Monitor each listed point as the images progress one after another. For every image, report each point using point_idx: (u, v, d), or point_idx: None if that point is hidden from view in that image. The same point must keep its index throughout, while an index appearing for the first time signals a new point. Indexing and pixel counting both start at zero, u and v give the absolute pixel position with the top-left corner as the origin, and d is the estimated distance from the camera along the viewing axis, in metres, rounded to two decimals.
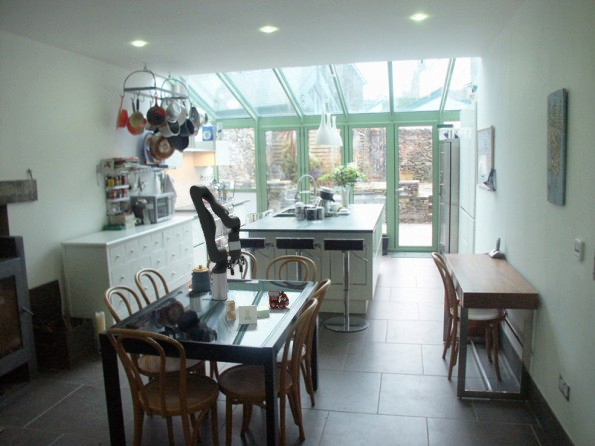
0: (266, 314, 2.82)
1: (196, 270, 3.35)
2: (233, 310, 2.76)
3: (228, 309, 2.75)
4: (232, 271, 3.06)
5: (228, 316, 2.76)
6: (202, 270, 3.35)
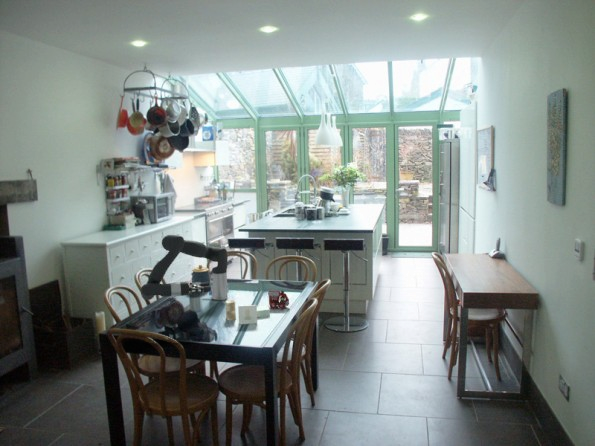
0: (266, 314, 2.82)
1: (196, 270, 3.35)
2: (233, 310, 2.76)
3: (228, 309, 2.75)
4: None
5: (228, 316, 2.76)
6: (202, 270, 3.35)
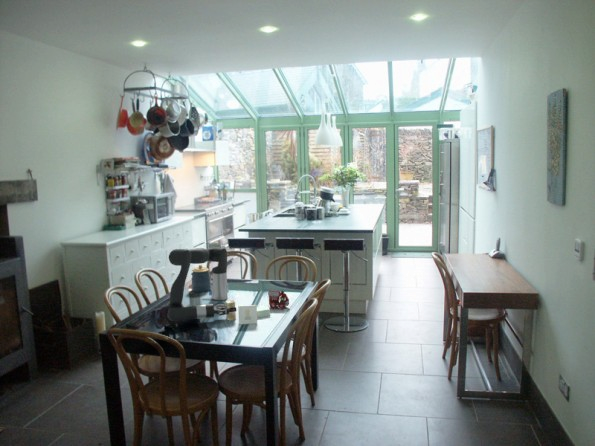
0: (267, 314, 2.83)
1: (196, 270, 3.35)
2: None
3: None
4: None
5: (228, 316, 2.76)
6: (202, 270, 3.35)
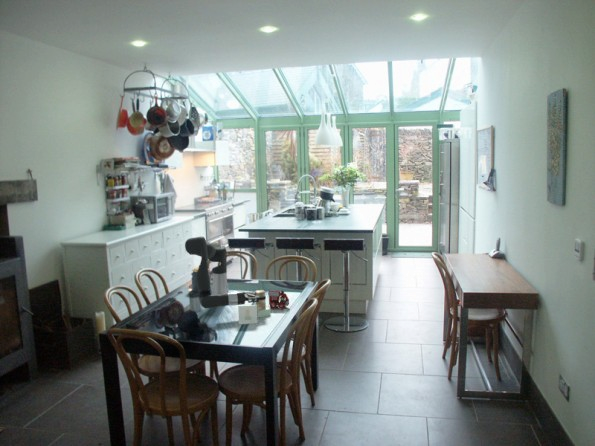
0: (267, 314, 2.83)
1: (196, 270, 3.35)
2: None
3: None
4: None
5: (258, 305, 2.82)
6: None
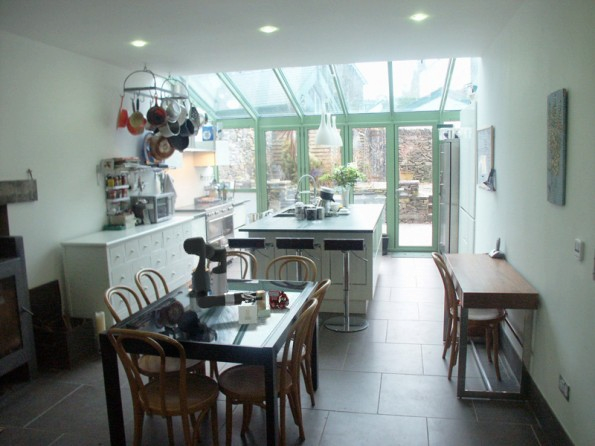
0: (267, 313, 2.83)
1: None
2: (263, 300, 2.82)
3: None
4: None
5: (259, 305, 2.82)
6: None
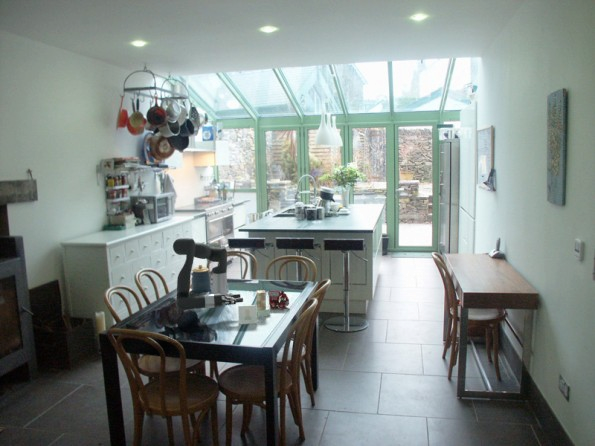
0: (267, 314, 2.83)
1: (196, 270, 3.35)
2: (263, 300, 2.82)
3: (259, 299, 2.81)
4: None
5: (258, 305, 2.82)
6: (202, 270, 3.35)
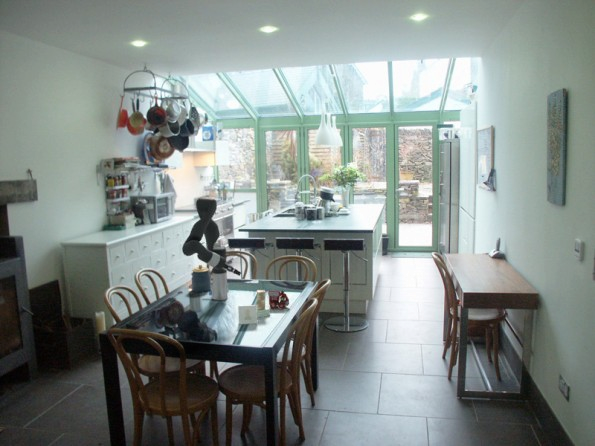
0: (267, 313, 2.83)
1: (196, 270, 3.35)
2: (263, 299, 2.82)
3: (258, 298, 2.82)
4: None
5: (258, 305, 2.82)
6: (202, 270, 3.35)
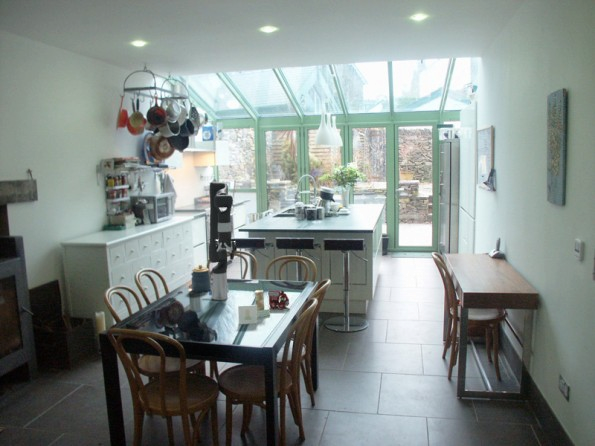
0: (267, 313, 2.83)
1: (196, 270, 3.35)
2: (261, 299, 2.82)
3: (256, 298, 2.82)
4: (217, 253, 2.83)
5: None
6: (202, 270, 3.35)
